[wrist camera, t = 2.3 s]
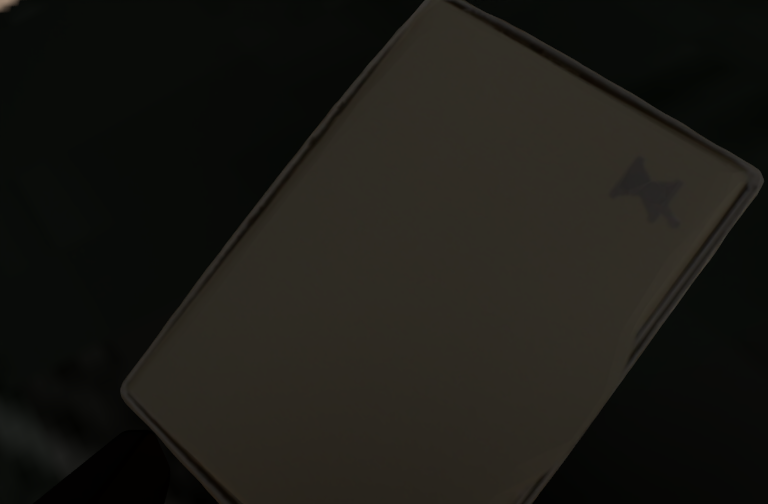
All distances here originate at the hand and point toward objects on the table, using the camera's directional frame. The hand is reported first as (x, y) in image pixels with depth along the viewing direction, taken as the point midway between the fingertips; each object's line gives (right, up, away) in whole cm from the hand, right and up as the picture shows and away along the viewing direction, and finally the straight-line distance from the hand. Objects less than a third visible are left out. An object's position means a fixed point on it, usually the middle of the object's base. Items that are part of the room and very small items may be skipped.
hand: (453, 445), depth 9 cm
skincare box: (+2, 0, +9) cm, 10 cm away
